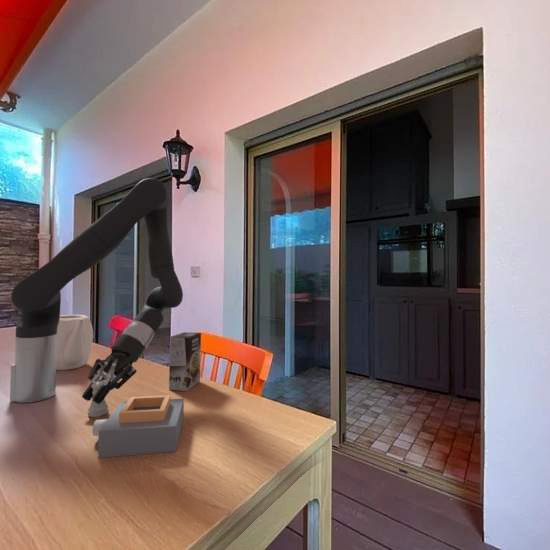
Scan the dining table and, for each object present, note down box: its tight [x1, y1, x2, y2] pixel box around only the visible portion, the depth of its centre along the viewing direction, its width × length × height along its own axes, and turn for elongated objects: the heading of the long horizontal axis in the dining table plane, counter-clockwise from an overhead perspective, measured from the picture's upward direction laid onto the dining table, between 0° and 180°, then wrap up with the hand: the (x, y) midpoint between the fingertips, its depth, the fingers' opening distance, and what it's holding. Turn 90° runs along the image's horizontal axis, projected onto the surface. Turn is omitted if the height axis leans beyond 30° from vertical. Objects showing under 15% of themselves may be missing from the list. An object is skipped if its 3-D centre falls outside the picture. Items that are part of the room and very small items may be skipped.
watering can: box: [56, 314, 94, 371], centre depth 115 cm, size 16×27×19 cm, turn 49°
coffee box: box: [168, 332, 202, 392], centre depth 98 cm, size 9×6×16 cm
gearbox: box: [92, 394, 185, 459], centre depth 67 cm, size 17×14×7 cm
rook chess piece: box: [87, 379, 109, 418], centre depth 77 cm, size 4×4×8 cm
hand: (90, 400), depth 76 cm, fingers closed on rook chess piece, 3 cm apart
